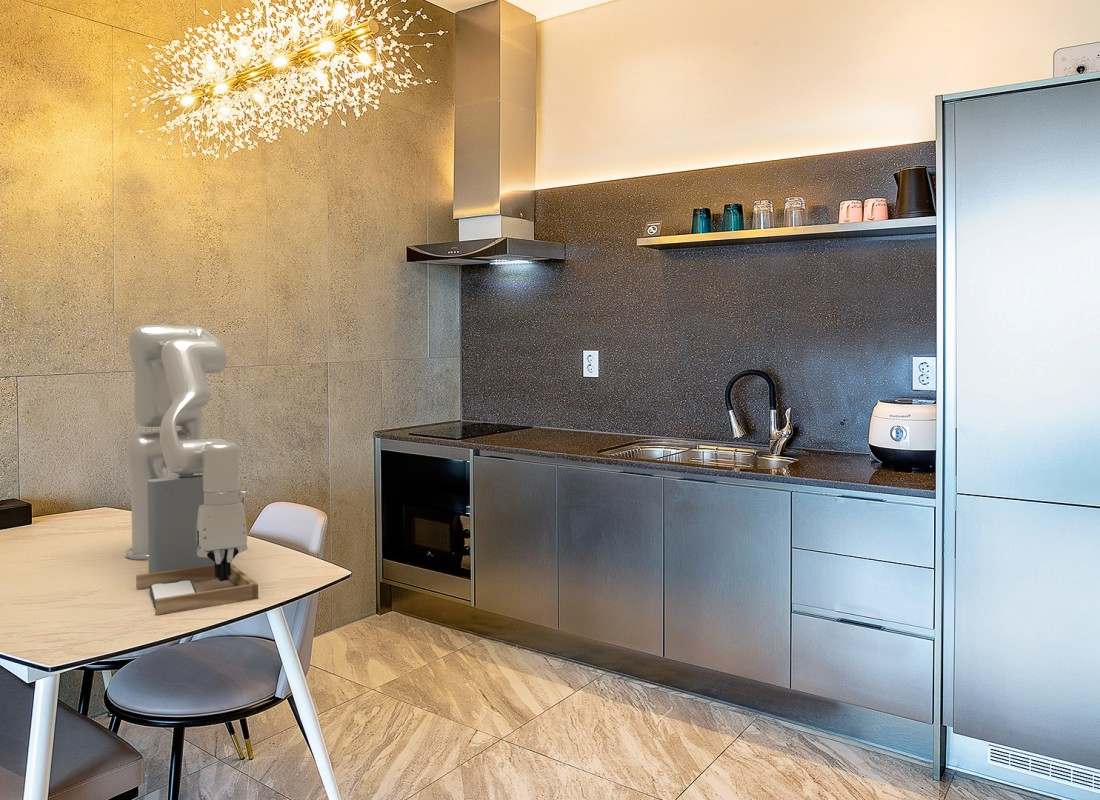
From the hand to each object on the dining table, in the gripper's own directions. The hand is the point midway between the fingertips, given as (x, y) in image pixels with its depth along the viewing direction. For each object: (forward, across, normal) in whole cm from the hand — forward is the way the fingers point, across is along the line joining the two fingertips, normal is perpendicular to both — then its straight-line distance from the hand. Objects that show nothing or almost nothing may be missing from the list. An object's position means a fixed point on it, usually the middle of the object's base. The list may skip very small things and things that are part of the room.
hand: (222, 579), depth 183 cm
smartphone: (+3, +10, 0) cm, 11 cm away
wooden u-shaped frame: (+2, +6, -1) cm, 6 cm away
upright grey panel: (+2, +3, -22) cm, 22 cm away
